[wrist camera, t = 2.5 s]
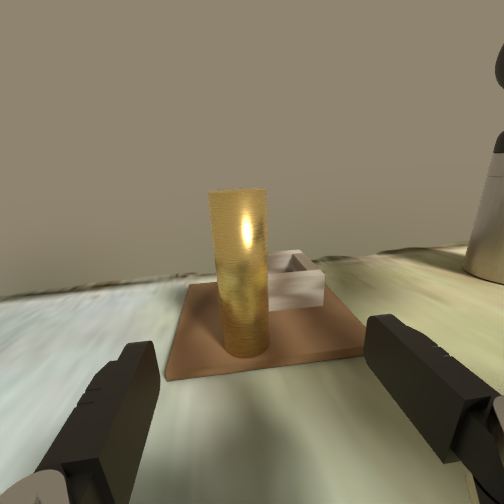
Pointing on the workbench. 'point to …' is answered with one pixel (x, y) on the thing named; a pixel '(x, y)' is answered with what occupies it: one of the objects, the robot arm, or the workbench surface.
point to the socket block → (280, 324)
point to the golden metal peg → (241, 268)
